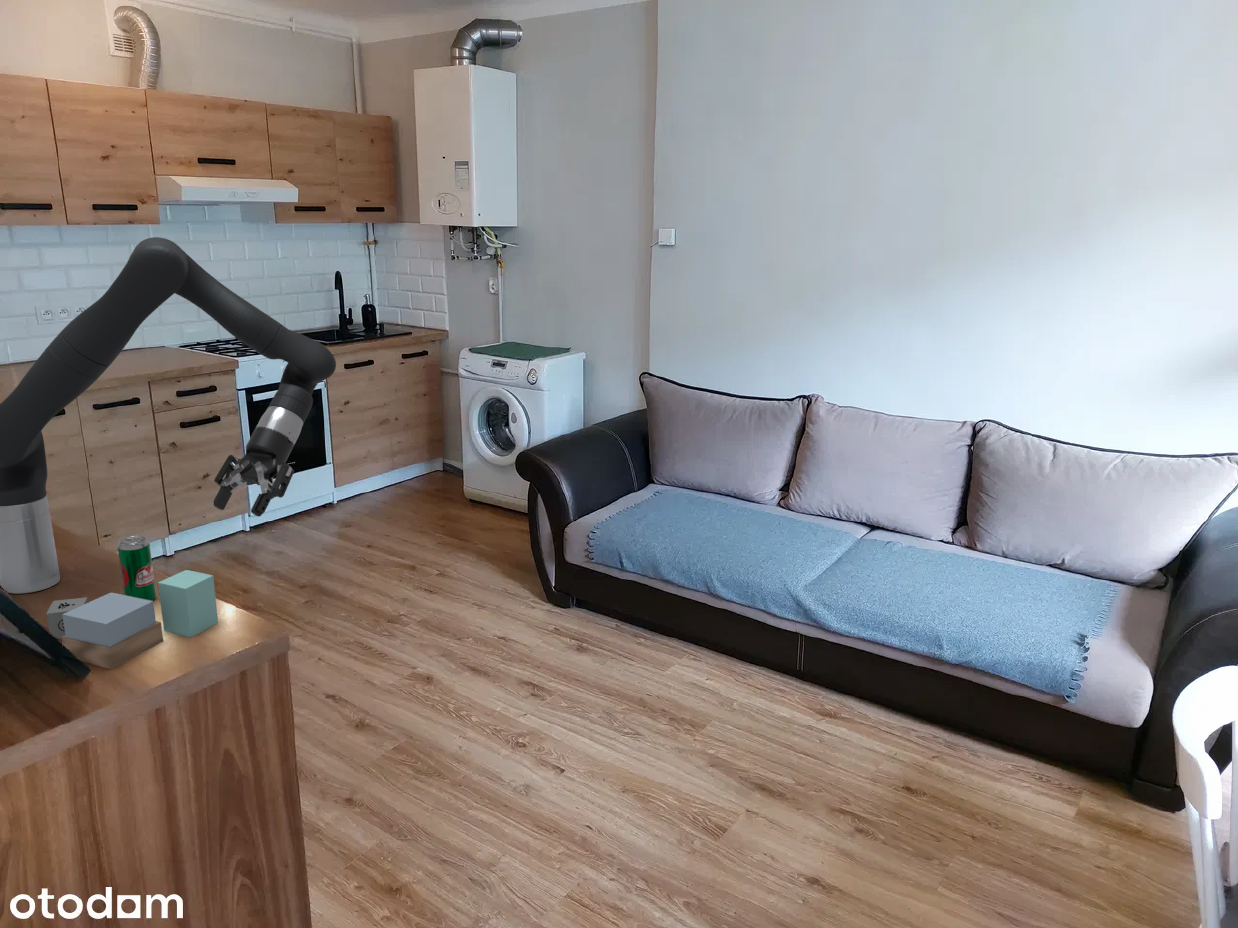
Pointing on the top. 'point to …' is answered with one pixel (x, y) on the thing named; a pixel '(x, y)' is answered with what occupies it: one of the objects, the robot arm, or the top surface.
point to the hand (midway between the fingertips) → (236, 511)
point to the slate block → (109, 619)
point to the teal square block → (188, 603)
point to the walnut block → (116, 647)
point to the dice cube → (56, 614)
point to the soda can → (136, 567)
